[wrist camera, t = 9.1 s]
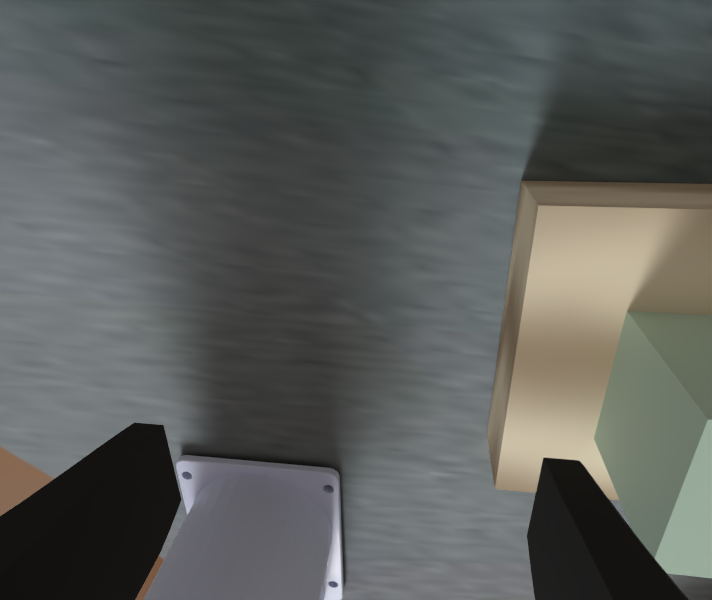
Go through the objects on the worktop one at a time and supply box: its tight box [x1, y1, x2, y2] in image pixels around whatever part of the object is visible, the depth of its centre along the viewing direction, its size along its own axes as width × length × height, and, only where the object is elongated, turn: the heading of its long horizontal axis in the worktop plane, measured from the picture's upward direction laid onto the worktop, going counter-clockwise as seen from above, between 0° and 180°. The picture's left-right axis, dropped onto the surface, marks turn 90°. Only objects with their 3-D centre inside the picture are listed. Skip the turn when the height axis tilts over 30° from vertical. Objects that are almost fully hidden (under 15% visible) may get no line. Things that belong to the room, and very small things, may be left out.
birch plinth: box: [487, 181, 712, 500], centre depth 17 cm, size 11×11×3 cm
